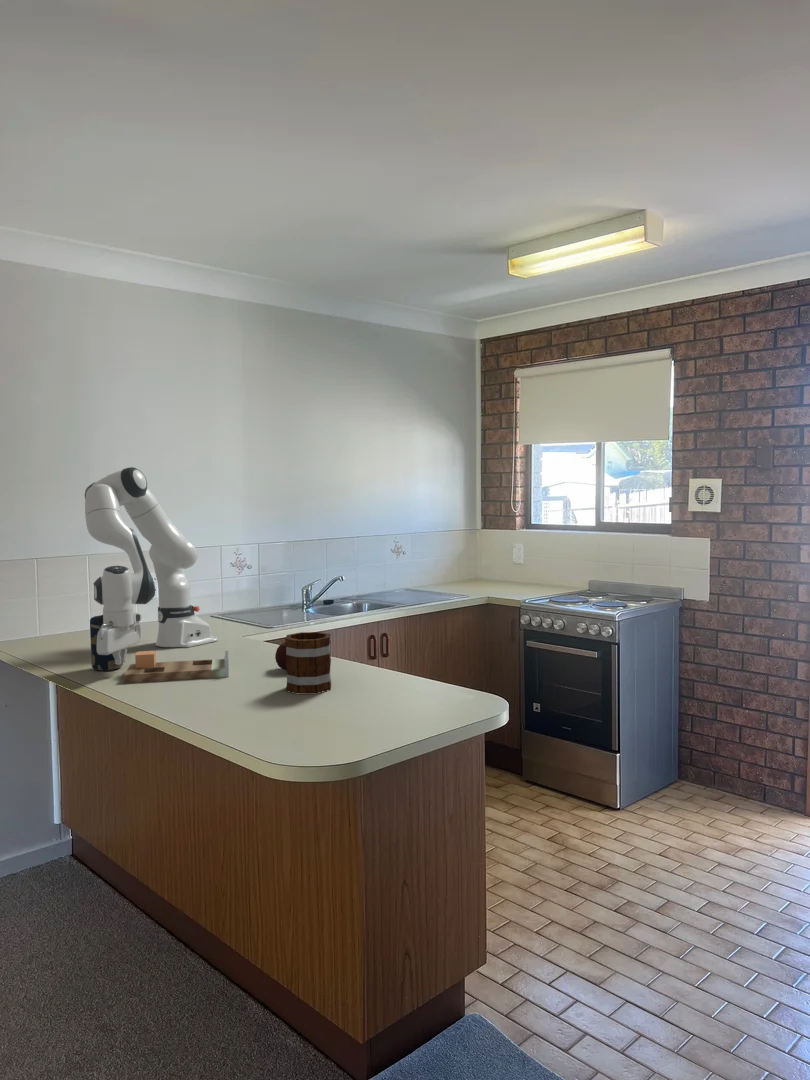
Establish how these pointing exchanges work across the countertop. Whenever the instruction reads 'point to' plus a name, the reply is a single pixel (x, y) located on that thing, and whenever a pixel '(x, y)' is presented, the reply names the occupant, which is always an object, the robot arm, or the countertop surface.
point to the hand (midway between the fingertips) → (120, 663)
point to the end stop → (226, 664)
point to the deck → (176, 671)
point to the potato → (281, 656)
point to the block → (145, 659)
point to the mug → (308, 662)
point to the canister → (97, 660)
